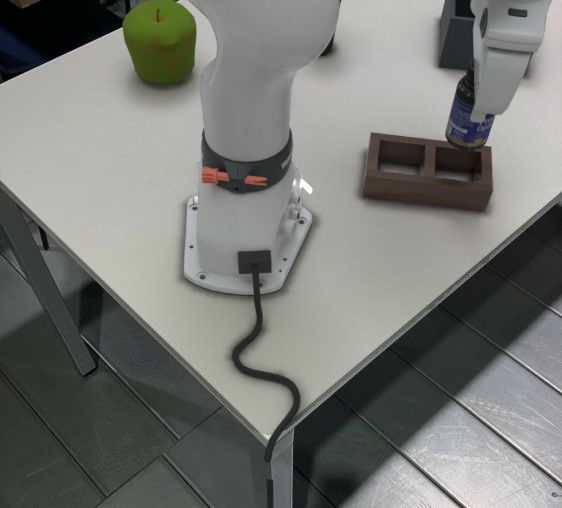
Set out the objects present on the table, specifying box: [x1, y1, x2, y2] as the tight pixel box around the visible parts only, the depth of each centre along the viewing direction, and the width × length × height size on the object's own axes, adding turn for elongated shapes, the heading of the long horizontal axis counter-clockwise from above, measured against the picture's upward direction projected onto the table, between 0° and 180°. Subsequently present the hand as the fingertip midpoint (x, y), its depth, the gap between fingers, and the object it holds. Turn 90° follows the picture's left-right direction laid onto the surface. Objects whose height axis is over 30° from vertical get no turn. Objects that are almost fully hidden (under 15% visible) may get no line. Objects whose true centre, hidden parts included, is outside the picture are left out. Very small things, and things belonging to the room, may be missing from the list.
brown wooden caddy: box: [361, 131, 494, 212], centre depth 96 cm, size 10×19×4 cm, turn 81°
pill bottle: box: [444, 58, 496, 151], centre depth 85 cm, size 6×6×11 cm
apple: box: [121, 0, 198, 86], centre depth 106 cm, size 12×12×11 cm
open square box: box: [438, 0, 534, 77], centre depth 113 cm, size 16×16×9 cm
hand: (475, 102), depth 85 cm, fingers closed on pill bottle, 6 cm apart
